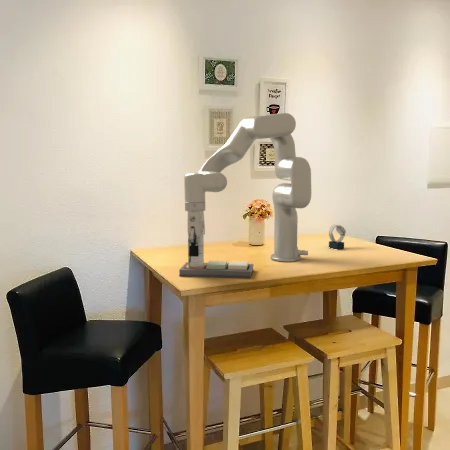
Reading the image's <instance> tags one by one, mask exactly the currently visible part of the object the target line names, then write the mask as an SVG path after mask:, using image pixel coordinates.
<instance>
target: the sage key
mask: <svg viewBox="0 0 450 450" xmlns="http://www.w3.org/2000/svg"><path fill="white" fill-rule="evenodd" d="M206 263H207V265H206V269H225V268H226V266H227V263H228V261H227V260H209V261H208V262H206Z"/></svg>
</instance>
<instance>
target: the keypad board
mask: <svg viewBox="0 0 450 450" xmlns="http://www.w3.org/2000/svg"><path fill="white" fill-rule="evenodd" d="M207 263H208V262H204V264H206V265H207ZM229 263H230V262H229ZM229 263H228V262H227V266H226V268H225V269H185V267H186V266H187V265H188V261H187V262H186V261H185V262H184V264H182V266H181V267H180V268H179V271H178V272H179V275H178V276H179V277H192V276H195V277H197V276H198V278H199V277H200V278H202V277H203V278H231V279H232V278H233V279H251V277H252V274H253V271H254V264H253V263H248V268H247V270H235V269H228V265H229Z"/></svg>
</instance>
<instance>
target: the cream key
mask: <svg viewBox="0 0 450 450" xmlns="http://www.w3.org/2000/svg"><path fill="white" fill-rule="evenodd" d="M248 264H249V261H245V260H244V261H242V260H241V261H239V260H237V261H235V260H229V265H228V269H235V270H247V268H248Z"/></svg>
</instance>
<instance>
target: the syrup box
mask: <svg viewBox="0 0 450 450" xmlns="http://www.w3.org/2000/svg"><path fill="white" fill-rule="evenodd" d="M204 235H205V234H203V229H202V237H201V238H199V237H198V245H197V246H198V248H199V256H197V257H196V256H190V238H189V237H188V236H187V257H188V258H187V262H188V267H203V266H204V263H205V259H204V257H205V256H204V247H205V244H204V242H205V241H204ZM189 236H190V234H189ZM194 237H197V236H194ZM195 240H196V239H195Z"/></svg>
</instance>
